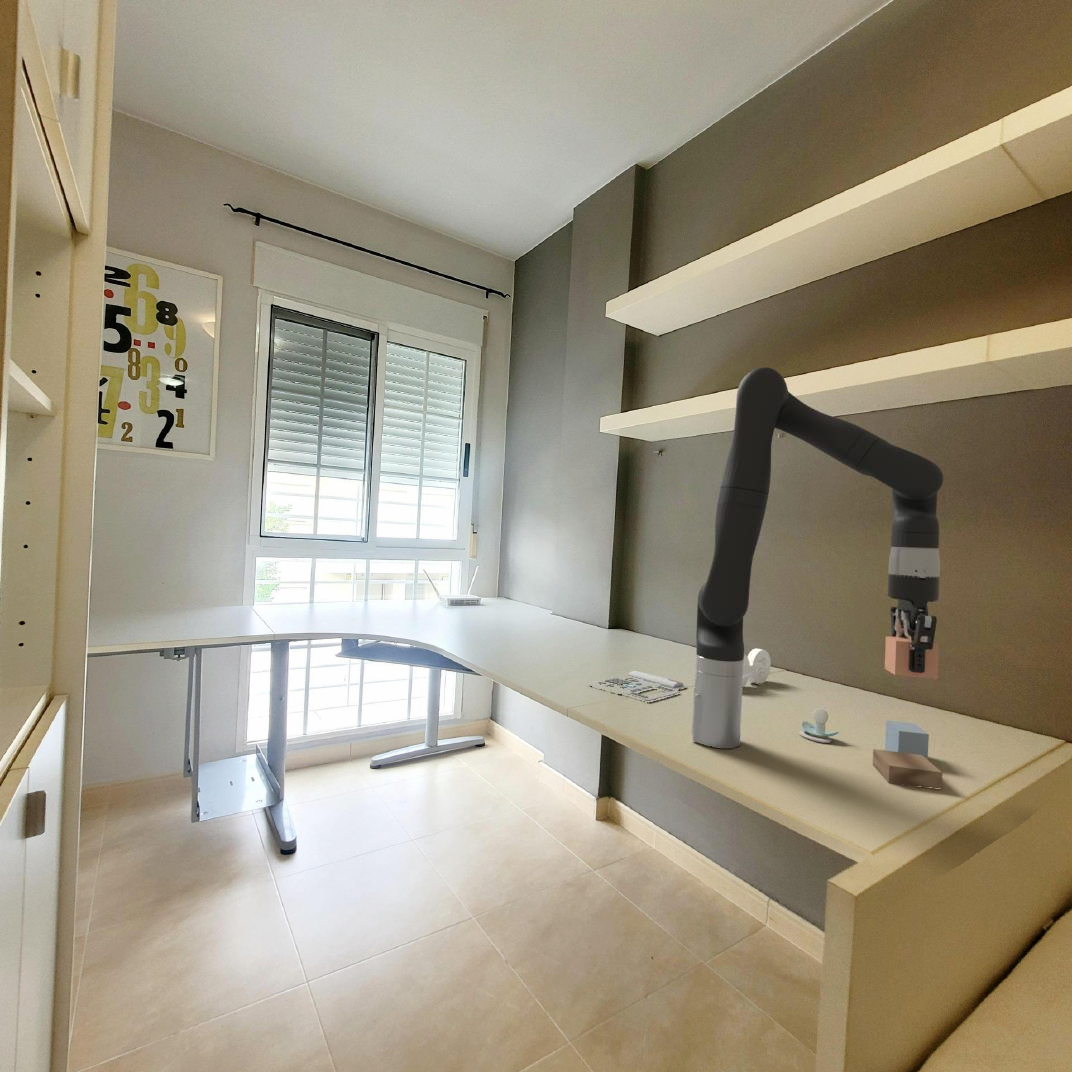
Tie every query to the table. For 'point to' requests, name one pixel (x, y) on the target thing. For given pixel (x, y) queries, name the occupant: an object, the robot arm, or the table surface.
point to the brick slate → (906, 738)
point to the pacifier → (817, 727)
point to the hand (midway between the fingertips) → (910, 668)
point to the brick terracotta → (899, 658)
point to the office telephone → (641, 687)
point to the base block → (906, 769)
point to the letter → (756, 666)
